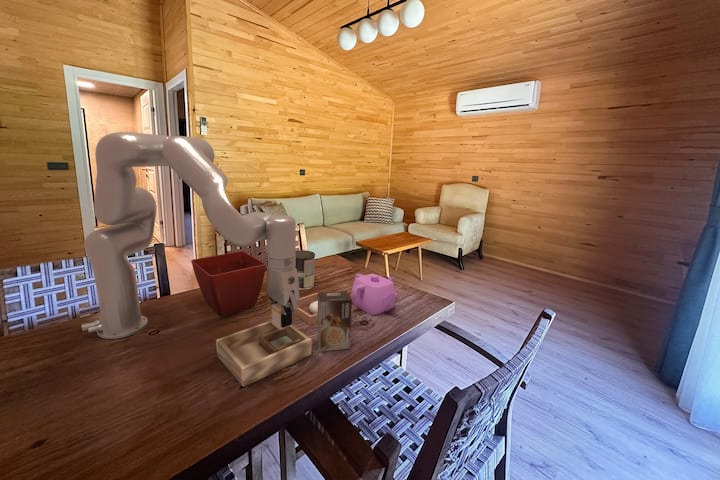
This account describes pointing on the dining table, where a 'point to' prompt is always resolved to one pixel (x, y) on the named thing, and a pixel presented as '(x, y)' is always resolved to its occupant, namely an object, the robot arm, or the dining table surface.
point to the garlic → (314, 307)
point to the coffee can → (305, 268)
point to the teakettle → (373, 293)
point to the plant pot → (229, 281)
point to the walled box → (262, 351)
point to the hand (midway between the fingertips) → (282, 321)
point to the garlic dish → (302, 314)
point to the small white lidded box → (277, 315)
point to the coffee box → (334, 320)
